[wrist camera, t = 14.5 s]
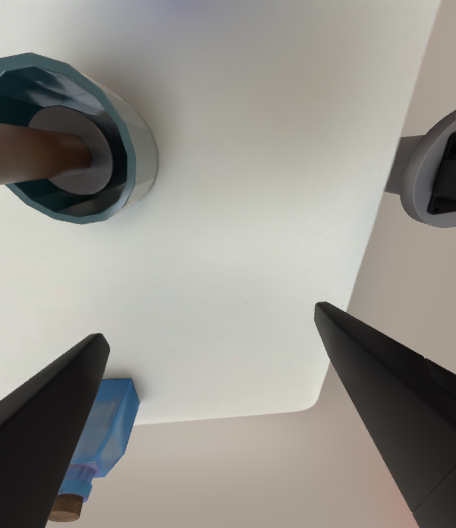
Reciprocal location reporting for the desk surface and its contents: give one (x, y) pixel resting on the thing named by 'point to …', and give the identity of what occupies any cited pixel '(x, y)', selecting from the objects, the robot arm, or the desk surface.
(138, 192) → the teal pipe cap
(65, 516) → the perfume bottle
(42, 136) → the brush
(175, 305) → the desk surface
